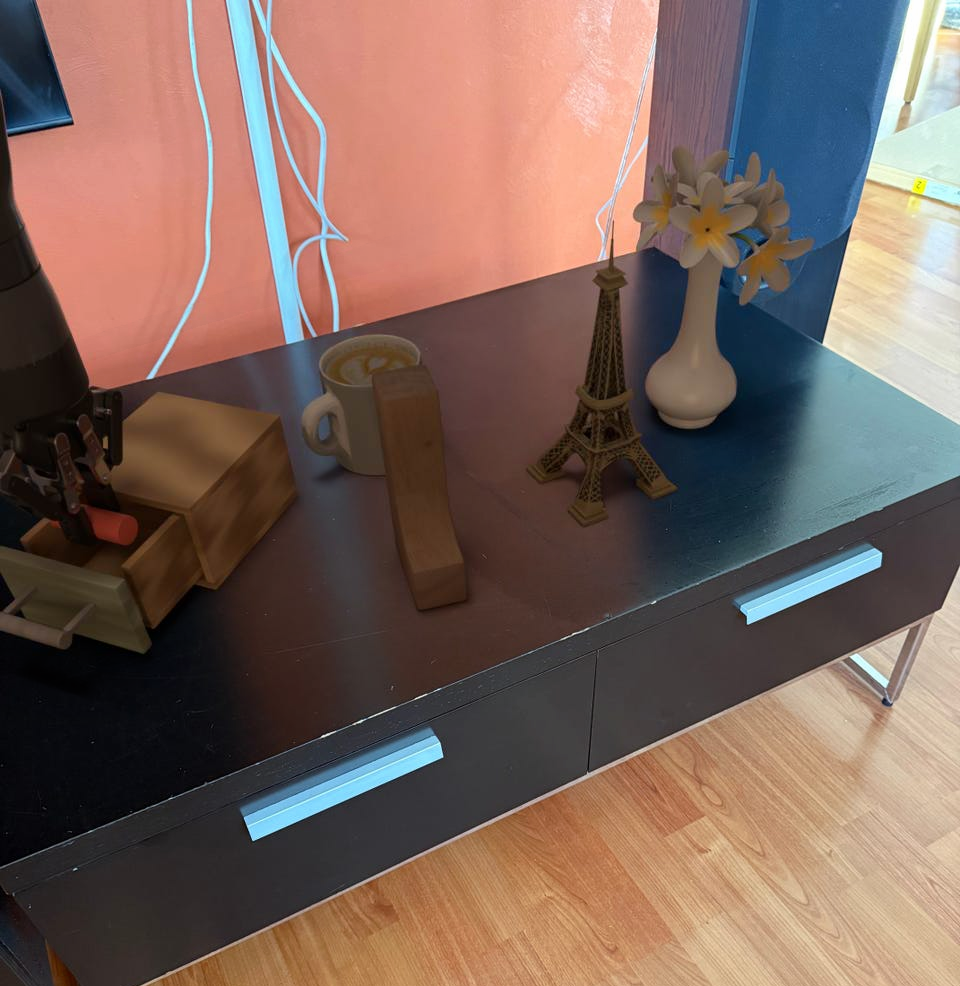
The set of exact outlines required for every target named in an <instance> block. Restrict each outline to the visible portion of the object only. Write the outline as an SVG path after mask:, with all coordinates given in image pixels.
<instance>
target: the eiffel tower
mask: <svg viewBox="0 0 960 986" xmlns="http://www.w3.org/2000/svg"><path fill="white" fill-rule="evenodd" d="M614 229H615V220H612V226H611V238H610V247H609V258H608V266H606V267H602V268H600V269H597V270H595V273H596V276H595V277H594V278H593V279H592V280H591V282H593V283H594V284H595V285H596V286H597V287H599V295H598V300H597V307H596V312H595V318H594V325H593V332H592V338H591V343H590V349H589V354H588V359H587V365H586V371H585V374H584V375H585V376H584V382H583V384H578V385H577V386H576V388H575V391H574V393H575V394H576V396H577V398H579V399H578V403H577V406H576V408H575V411H574V415H573V417H572V418H571V420H570V421H569V423H567V424H563V428H564V430H565V432H564V433H563V434H562V435H561V437H559V438H558V439H557V440H556V441H555V442H554V443H553V444H552V445H551V446H550V447H549V448H548V449H547V450H546V451H545V452H544V453H543V454H541V456H539V457H538V459H537V460H536V462H535V463H533V464H531V465H528V466H525V470H526V472H527V473H528V474H529V475H530V476H531V477H532V478H533V479H534V480H535V481H536V482H537V483H538V484H540V485H541V484H544V483H547V482H549V481H552V480H555V479H557V478H560V477H562V476H565V469H564V468H563V466H564V465H565V464H566V463H567V462H568V460H569V459H570V458H571V457H572V456H573V455H574V454H577V455H578V456H579V458H580V459H581V461H582V462H583V463H584V465H585V467H586V468H587V471H586V473H585V476H584V478H583V480H582V483H581V485H580V487H579V489H578V492H577V495H576V496H575V499H574V503H572V504H571V507H568V508H567V513H569V515H570V516H571V517H572V518H574V519H575V520H576V521H577V522H578V523H579V525H580V526H581V527H583V528H585V527H587V526H591V525H592V524H594V523H598V522H599V521H603V520H606V519H608V518H609V513H608V512H607V508H605V507H604V500H603V499H604V497H603V483H602V482H603V481H602V471H603V470H604V469H605V468H606V467H607V466H609V465H610V464H611V463H612V462H614V461H615V460H618V459H625V460H626V461H628V462H629V463H630V465H631V466H632V468H633V469H634V471H635V472H636V474H637V476H639V478H636V486H637V487H638V488H639V489H640V490H641V491H642V492H644V493H645V494H646V495H647V496H648V497H649V498H650V499H652V500H653V501H654V500H656V499H659V498H661V497H663V496H666V495H669V494H672V493H674V492H676V491H677V490H678V487H677V486H676V485H675V484H674V483H672V482H671V481H670V480H669V479H668V478H666V476H665V474H664V472H663V471H662V470H661V468H660V467H659V465H657V463H656V462H655V460H654V459H653V458H652V457H651V455H650V454H649V452H648V451H647V450H646V449H645V447H644V446H643V445H642V444H641V442H640V439H641V438H642V437H643V434H642V433H640V432H638V431H637V429H636V428H635V427H636V426H635V425H634V423H633V418H632V412H631V408H630V404H629V403H630V400H632V399H634V398H635V395H634V392H633V389H632V388H630V387H628V386H627V384H626V371H625V370H626V369H625V358H624V357H625V356H624V346H623V331H622V329H623V328H622V316H621V315H622V314H621V313H622V311H621V297H620V295H621V294H620V289H621V288H623V287H625V286H627V285H629V282H628V281H627V279H626V278H625V275H627V273H626V271H623V270H621V269H620V268H619V267H617V266H616V265H614V262H615V261H614V258H615V257H614V241H615V239H614ZM616 413H617V414H616ZM590 414H591V415H590ZM589 415H590V417H589Z"/></svg>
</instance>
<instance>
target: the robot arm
mask: <svg viewBox="0 0 960 986" xmlns="http://www.w3.org/2000/svg"><path fill="white" fill-rule="evenodd" d="M3 103H4V102H3V97H2V92H1V90H0V449H1V451H2V452H3V453H2V456H1V458H0V497H2V498H3V499H5V500H7V501H8V502H9V503H11V504H12V505H14V506H15V507H17V508H18V509H20V510H21V511H23V512H24V513H25V514H27V515H29V516H33V517H39V518H42V519H43V518H47V519H49V520H52V521H58V522H59V524H60V527H61V529H62V531H63V533H64V535H65V537H66V539H67V540H68V541H69V542H72V543H76V544H79V545H83V546H87V547H93V546H94V545H95V544H96V543H97V542H98V538H97V536H96V535H95V533H94V529H93V527H92V524H91V522H90V520H89V518H88V515H87V513H86V511H85V508H84V507H82V506H80V501H79V498H78V494H77V491H76V488H75V483H77V481H78V479H77V476H78V478H79V479H81V480H84V482H83V483H82V484H81V485H80V486H81V488H82V490H83V493H84V495H85V497H86V499H87V502H88V504H89V506H92V507H97V508H101V509H105V510H109V511H113V512H117V513H119V511H120V508H119V503H118V501H117V498H116V496H115V493H114V491H113V488H112V486H111V483H110V482H111V479H112V475H111V470H112V469H113V467H114V465H115V466H119V465H120V464H121V463H122V460H123V421H124V419H123V418H124V415H123V413H124V412H123V394H122V392H121V391H120V390H116V389H110V388H106V387H100V386H96V385H90V378H89V374H88V372H87V369H86V367H85V365H84V362H83V359H82V356H81V354H80V351H79V349H78V346H77V343H76V341H75V338H74V335H73V334H72V333H73V332H72V330H71V327H70V325H69V323H68V321H67V318H66V315H65V312H64V310H63V307H62V305H61V303H60V299H59V297H58V295H57V293H56V290H55V288H54V286H53V285H52V282H51V281H50V279H49V277H48V275H47V274H46V272H45V270H44V268H43V266H42V264H41V262H40V258H39V256H38V254H37V252H36V249H35V246H34V244H33V241H32V238H31V236H30V233H29V231H28V228H27V226H26V223H25V220H24V217H23V215H22V213H21V211H20V208H19V206H18V203H17V200H16V195H15V186H14V175H13V164H12V157H11V150H10V145H9V144H10V143H9V137H8V131H7V123H6V116H5V108H4V104H3ZM104 435H106V436H107V438H108V449H107V448H103V438H104ZM22 464H24V465H26V466H27V470H28V473H29V476H30V477H29V476H27V473H26V472H25V471H24V470H23V466H22ZM76 475H77V476H76ZM31 480H32V482H33V483H35V485H37V486H38V488H39V490H37V488H34V486H32V485H30V483H31Z"/></svg>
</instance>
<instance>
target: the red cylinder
mask: <svg viewBox="0 0 960 986" xmlns="http://www.w3.org/2000/svg"><path fill="white" fill-rule="evenodd" d="M80 506H82V507H84V508H85V511H86V513H87V515H88V518H89V520H90V522H91V524H92V527H93V529H94V533H95V535H96V536H97V538H99V539H103V540H107V541H110V542H114V543H118V544H122V545H129V544H131V543H132V542H133V541H134V540H135V538H136V536H137V532H138V524H137V521H136V519H135V518H134V517H132V516H129V515H125V514H121V513H117V512H113V511H109V510H105V509H101V508H97V507H92V506H88V505H84V504H80ZM49 521H50V523H51V524H52V525H53V526H54V527H56V528H60V529H61V527H60V524H59V522H58V521H52V520H49Z"/></svg>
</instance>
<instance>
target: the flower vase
mask: <svg viewBox="0 0 960 986" xmlns="http://www.w3.org/2000/svg"><path fill="white" fill-rule="evenodd" d="M729 159H730V152H729V151H727V150H718V151H715V152H713V153H712V154H710V155H709V156H707V157H705V159H703V161H702V162H701V164H700V165H699V167H698V164H697V159H696V158H695V156H694V154H693V152H692V150H690V149H689V148H688V147H687V146H685V145H683V144H678V145H676V146H674V147H673V149H672V152H671V160H672V165H673V168H674V170H675V172H674V173H673V172H665V169H664V166H663V165H662V164H661V163H658V164H657V165H656V166H655V169H654V171H653V175H652V176H650V177H651V178H650V182H651V183H652V190H653V195H654V197H655V198H656V199H657V200H656V199H651V198H649V199H644V200H642V201H640V202H639V203H638V204H637V205H636V206H635V207H634V208H633V212H632V218H633V220H634V221H635V222H637V223H640V224H649V225H647V226H646V227H644V229H643V231H641V233H640V236H639V237H638V240H637V243H636V246H635V252H636V253H639V252H641V251H642V250H643V249H644V248H645V247H646V246H647V245H648V244H649V243H650V242H651V241H652V240H653V239H654V238H655V237H656V236H657V235H658V236H662V235H663V234H664V233H665V232H666V231H667V228H668V226H669V225H670V224H671V225H672V226H673V227H674V228H676V230H679V231H680V232H683V233H684V236H683V237H684V241H685V242H684V244H683V246H682V247H681V250H680V254H679V257H678V261H679V265H680V267H682V268H683V269H688V277H687V278H688V279H687V286H686V293H685V300H684V306H683V314H682V317H681V319H682V320H681V324H680V328H679V330H678V331H679V332H678V334H677V336H676V338H675V340H674V342H673V344H672V345H671V347H670V348H669V350H667V351H666V352H665V353H663V354H662V355H661V356H660V357H658V358H657V360H656V361H654V363H653V364H652V365H651V366H650V368H649V370H648V373H647V374H646V378H645V381H644V391H645V395H646V397H647V399H648V400H649V402H650V403H651V405H652V406H653V407H654V408H655V409H656V410H657V413H658V417H659V418H660V419H661V420H662V421H663V422H664V423H665V424H667V425H670V426H671V427H674V428H677V429H682V430H683V429H684V430H696V429H701V428H704V427H707V426H709V425H710V424H712V423H713V422H714V421H715V420H716V418H717V417H718V415H719V414H721V413H722V412H724V411H725V410H726V409H728V407H729V406H730V405H731V404H732V402H733V401H734V400H735V398H736V395H737V390H738V379H737V376H736V373H735V370H734V368H733V366H732V364H731V363H730V362H729V361H728V360H727V358H726V357H725V356H724V355H723V354H722V353H721V351H720V348H719V345H718V341H717V333H716V329H717V327H716V326H717V324H716V323H717V310H718V302H719V301H718V300H719V291H720V283H721V276H722V271H723V268H724V267H726V268H728V269H734V268H736V267H737V266H738V267H737V268H736V274H737V275H738V276H740V277H746V278H745V281H744V284H743V286H742V289H741V292H740V295H739V299H738V302H739V303H738V304H739V306H745V305H747V304H748V303H750V301H752V300H753V298H754V297H755V296H756V294H757V293H758V291H759V289H760V288H761V285H762V279H763V281H764V282H765V284H766V285H767V286H768V287H769V289H771V290H772V291H774V292H775V293H776V292H777V293H783V292H785V290H787V289H788V288H789V286H790V284H791V273H790V271H789V268H788V267H787V266H786V264H785V263H784V261H793V260H794V259H797V258H800V257H802V256H803V255H805V254H806V253H807V252H808V251H809V250H811V248H812V247H814V244H815V239H813V238H811V237H807V238H806V237H805V238H800V239H796V240H792V241H790V240H789V237H790V234H791V227H790V226H789V225H785V224H786V223H787V222H788V221H789V218H790V216H791V210H790V204H789V203H788V202H787V200H785V199H783V198H784V196H785V187H784V185H783V183H781V182H779V181H777V178H776V172H775V169H774V167H771V168H770V171H769V174H768V177H767V182H764V183H762V184H760V185H758V184H759V183H760V180H761V175H762V174H761V173H762V165H761V161H760V157H759V155H758V153H757V152H756V151H753V152H752V153H750V155H749V159H748V162H747V166H746V170H745V175H744V177H743V176H742V175H741V174H735V175H734V177H733V179H734V180H733V182H734V183H730V182H729V181H727V180H725V179H722V178H719V177H718V176H717V175H718V174H719V173H720V172H721V171H722V170H723V168H724V167H725V166H726V164H727V163H728V161H729ZM677 204H678V205H677ZM724 209H725V210H724ZM782 225H783V226H782ZM784 225H785V226H784ZM748 229H750V230H751V231H755V230H758V231H759V232H760V233H761V234H762V235H763V236H765V238H767V239H768V240H767V241H766V242H765V243H762V244H761V245H760V246H759V245H758V244H757V243H756V242H755V241H754V240H753V239H752V238H750V237H749V236H747V235H745V234H744V233H740V232H742V231H745V230H748ZM735 239H738V240H741V241H742V242H744V243H746V244H747V245H748V246H749V247H750V248H751V249H752V251H753V253H752V254H751V255H749V256H748V257H747V258H745V259H744V260H743V261H742V262H741V263H740V260H741V255H740V250H739V247H738V245H737V243H736V242H735ZM782 260H783V261H782ZM739 263H740V264H739Z"/></svg>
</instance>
